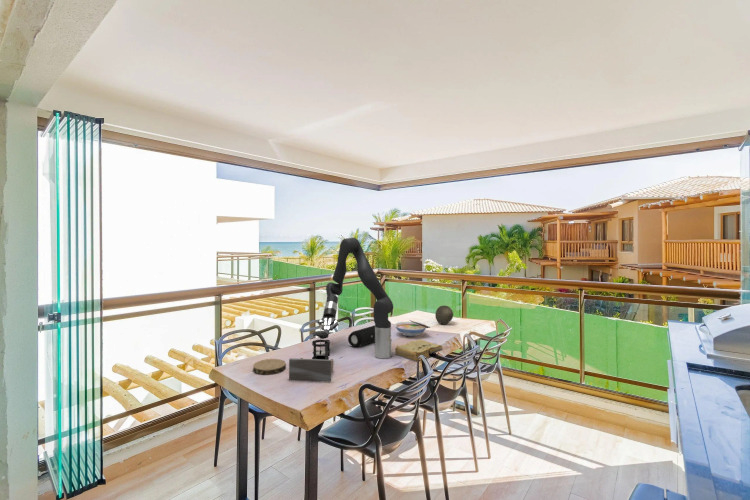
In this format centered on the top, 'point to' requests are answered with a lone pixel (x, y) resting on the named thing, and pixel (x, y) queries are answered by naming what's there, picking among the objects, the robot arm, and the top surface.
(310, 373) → the docking bay
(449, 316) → the dark grey ball
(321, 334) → the french press
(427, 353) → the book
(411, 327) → the ramen bowl
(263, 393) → the top surface
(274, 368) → the wood slice
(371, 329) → the portable speaker
